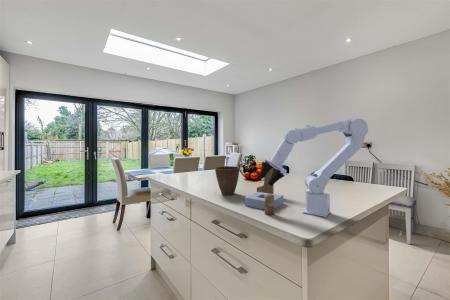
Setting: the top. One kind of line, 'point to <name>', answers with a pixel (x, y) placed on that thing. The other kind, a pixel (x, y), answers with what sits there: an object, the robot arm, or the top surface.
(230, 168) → the plant pot
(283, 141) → the robot arm
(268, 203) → the peg
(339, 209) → the top surface
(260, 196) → the socket
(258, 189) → the wooden block
